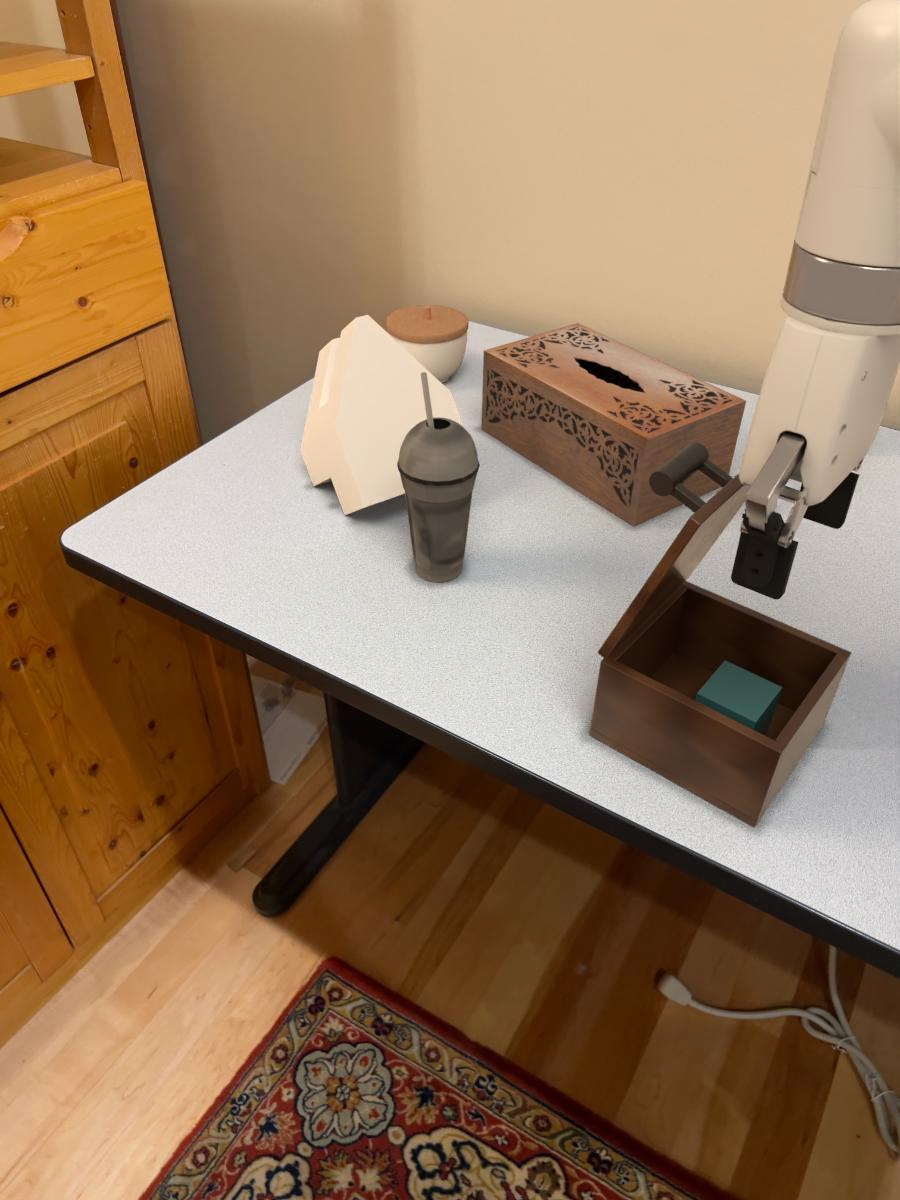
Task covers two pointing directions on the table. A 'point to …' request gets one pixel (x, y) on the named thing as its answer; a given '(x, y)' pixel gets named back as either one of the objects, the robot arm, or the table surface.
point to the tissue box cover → (605, 416)
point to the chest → (698, 733)
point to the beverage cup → (438, 492)
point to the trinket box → (431, 336)
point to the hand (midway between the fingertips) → (788, 553)
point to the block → (741, 696)
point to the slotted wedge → (366, 413)
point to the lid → (681, 534)
